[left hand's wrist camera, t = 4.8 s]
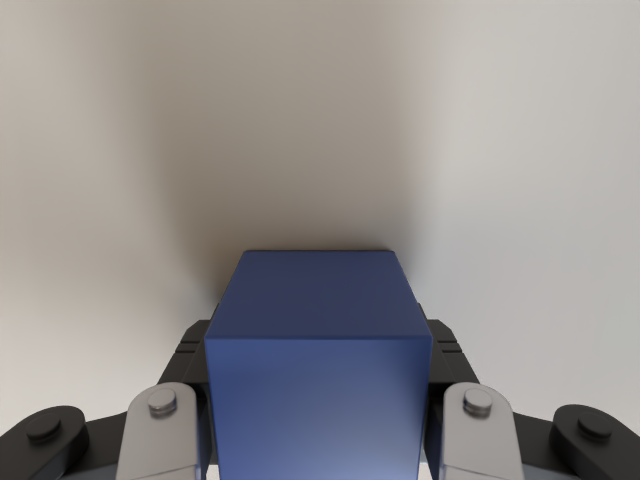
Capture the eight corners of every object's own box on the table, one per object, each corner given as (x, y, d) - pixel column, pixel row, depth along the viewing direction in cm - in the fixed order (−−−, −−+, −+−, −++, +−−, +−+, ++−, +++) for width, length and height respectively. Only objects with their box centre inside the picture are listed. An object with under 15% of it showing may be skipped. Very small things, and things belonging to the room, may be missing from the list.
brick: (243, 250, 12) (202, 336, 8) (394, 250, 12) (434, 336, 8) (252, 385, 13) (222, 516, 9) (385, 385, 13) (414, 516, 9)
